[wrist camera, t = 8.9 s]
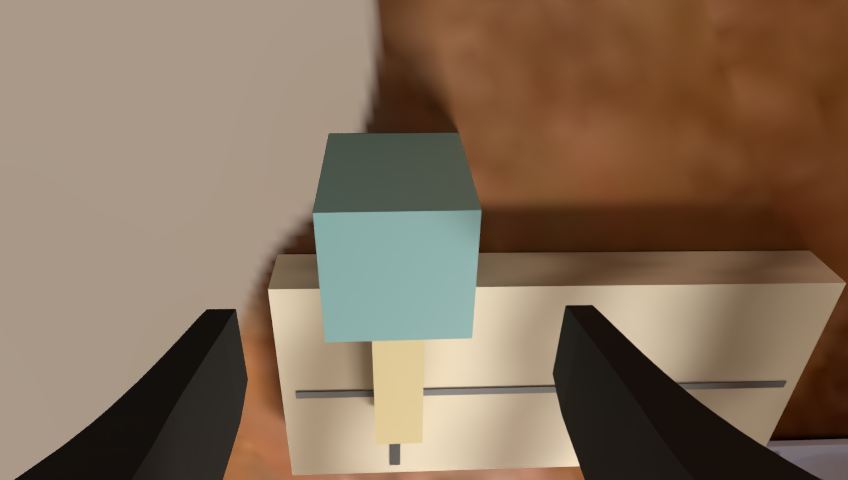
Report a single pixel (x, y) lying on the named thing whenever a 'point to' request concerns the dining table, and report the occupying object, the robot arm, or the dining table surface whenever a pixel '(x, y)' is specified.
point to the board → (552, 353)
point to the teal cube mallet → (397, 258)
